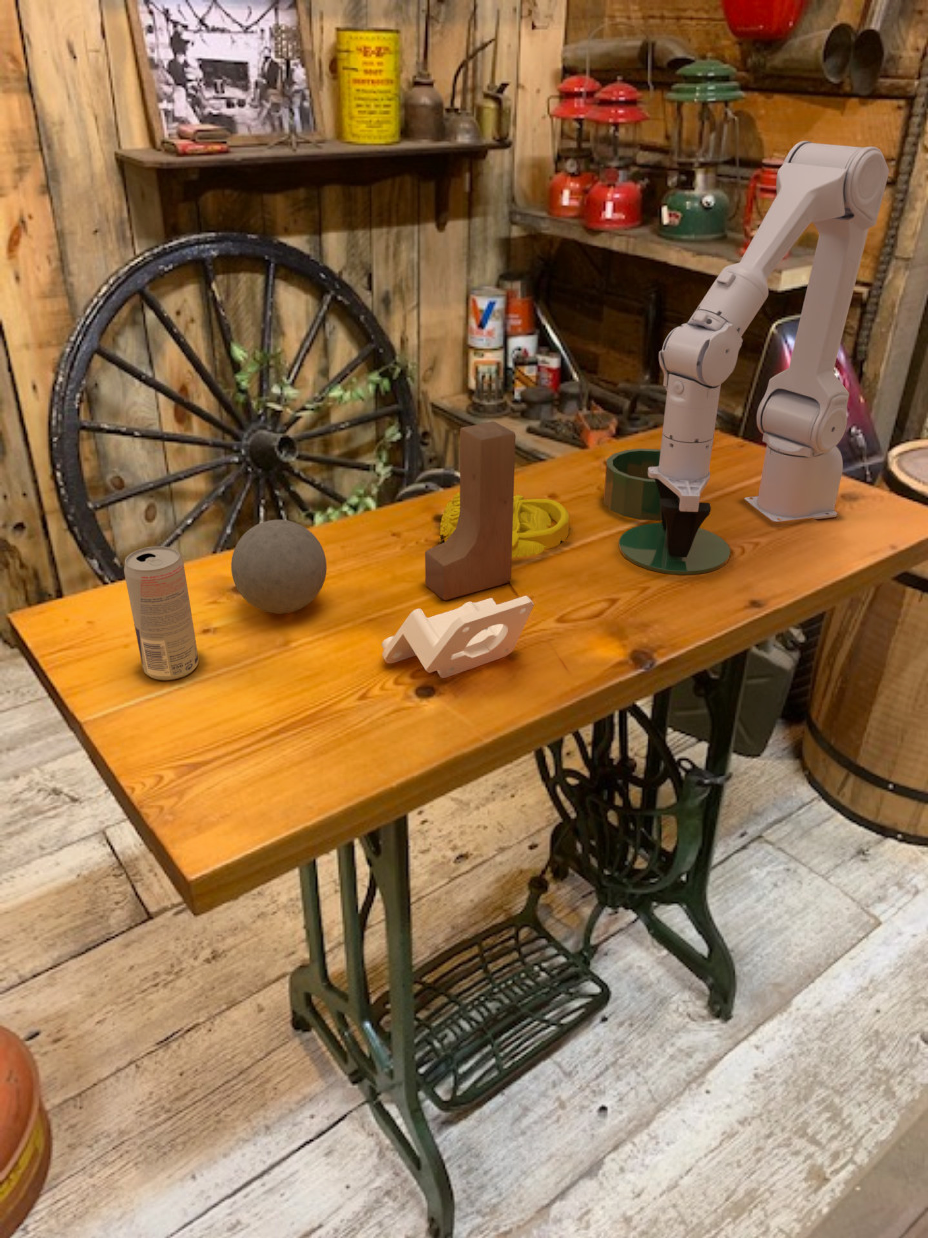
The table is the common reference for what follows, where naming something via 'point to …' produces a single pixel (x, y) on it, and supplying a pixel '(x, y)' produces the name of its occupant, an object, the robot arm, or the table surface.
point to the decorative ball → (278, 566)
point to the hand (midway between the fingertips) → (674, 542)
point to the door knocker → (521, 524)
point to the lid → (652, 553)
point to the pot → (633, 484)
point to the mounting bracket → (460, 635)
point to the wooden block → (478, 517)
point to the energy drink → (161, 612)
